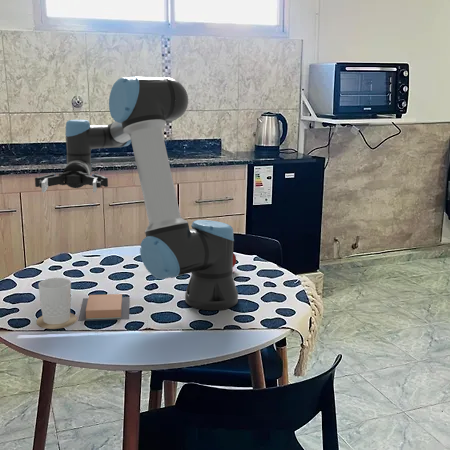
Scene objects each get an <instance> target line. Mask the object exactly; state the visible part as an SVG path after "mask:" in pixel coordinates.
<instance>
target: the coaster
mask: <svg viewBox="0 0 450 450" xmlns="http://www.w3.org/2000/svg"><path fill="white" fill-rule="evenodd" d="M77 321H78V317H77V316H76V315H75V314H74V313H72V312H70V319H69V321H67V322H65V323H62V324H56V325H55V324H54V325H52V324H47V323H45V322H44V321H43V316H42V315H41V316H39V317H38V318H37V319H36V325H37V326H38V327H40V328H43V329H48V330H49V329H50V330H57V329H64V328H68V327H70V326H73V325H74V324H75V323H77Z"/></svg>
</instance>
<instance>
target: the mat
mask: <svg viewBox="0 0 450 450" xmlns="http://www.w3.org/2000/svg"><path fill="white" fill-rule="evenodd" d="M130 299H131V298H130V296H122V313H121V318H113V319H86V307H87V302H88V297H87V298H85V297H83V298H82V302H81V306H80V310H79V314H78V318H77V321H78V322H89V321H115V320H130V306H131V305H130V303H131V302H130V301H131V300H130Z"/></svg>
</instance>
